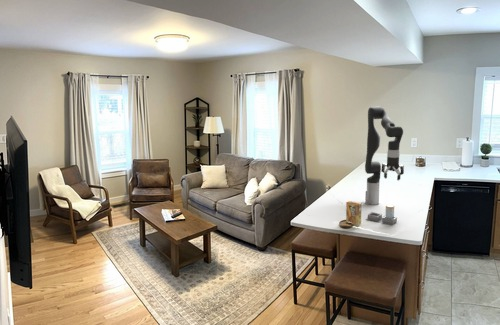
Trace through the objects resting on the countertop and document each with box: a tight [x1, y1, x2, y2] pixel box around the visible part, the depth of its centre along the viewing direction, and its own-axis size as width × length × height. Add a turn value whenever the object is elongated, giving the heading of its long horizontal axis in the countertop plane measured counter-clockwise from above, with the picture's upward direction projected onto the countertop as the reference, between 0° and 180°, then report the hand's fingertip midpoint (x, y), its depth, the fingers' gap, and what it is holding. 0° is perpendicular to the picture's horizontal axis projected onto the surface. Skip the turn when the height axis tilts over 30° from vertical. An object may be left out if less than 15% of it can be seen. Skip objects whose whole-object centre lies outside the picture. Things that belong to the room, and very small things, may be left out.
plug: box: [385, 204, 395, 219], centre depth 226 cm, size 4×4×11 cm
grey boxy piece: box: [365, 211, 399, 226], centre depth 230 cm, size 18×12×4 cm, turn 47°
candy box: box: [345, 200, 362, 228], centre depth 225 cm, size 9×4×15 cm, turn 50°
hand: (392, 179), depth 236 cm, fingers open, 8 cm apart
